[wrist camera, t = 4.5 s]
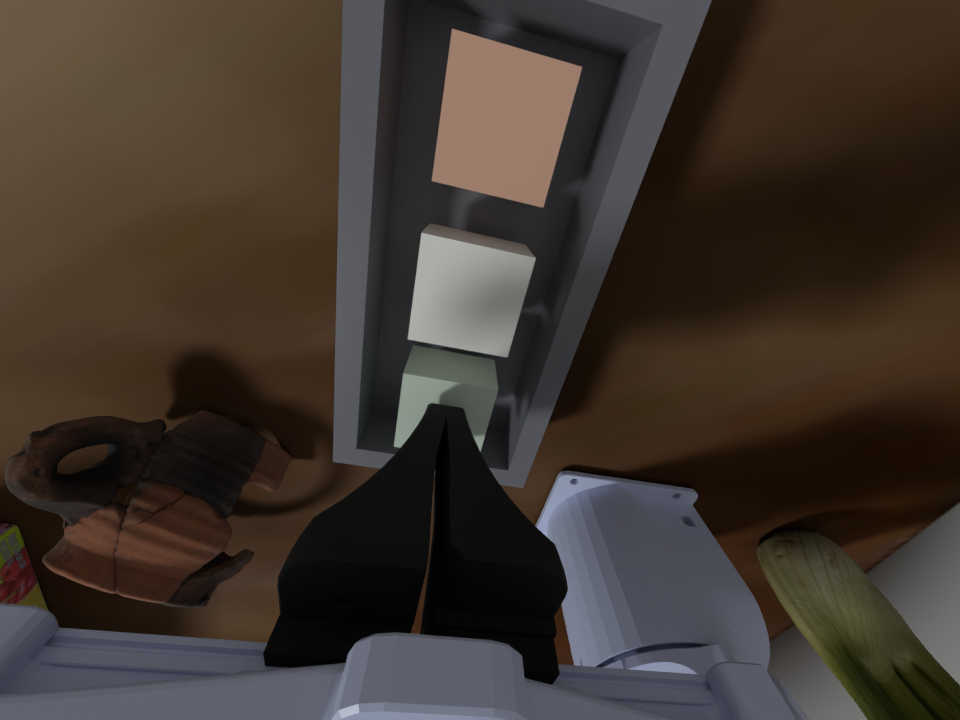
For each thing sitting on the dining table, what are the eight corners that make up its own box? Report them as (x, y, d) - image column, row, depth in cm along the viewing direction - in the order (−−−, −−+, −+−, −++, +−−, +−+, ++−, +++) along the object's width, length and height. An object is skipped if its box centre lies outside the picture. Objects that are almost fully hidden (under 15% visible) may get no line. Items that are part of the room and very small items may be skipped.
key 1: (494, 360, 15) (498, 389, 13) (477, 423, 17) (478, 458, 15) (413, 344, 15) (403, 373, 13) (403, 411, 16) (393, 446, 14)
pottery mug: (338, 475, 22) (253, 630, 18) (260, 461, 27) (176, 580, 22) (145, 356, 15) (-100, 573, 10) (83, 365, 19) (-101, 515, 15)
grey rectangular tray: (645, 39, 12) (718, -17, 9) (513, 433, 20) (522, 488, 17) (386, -41, 11) (346, -144, 7) (358, 409, 19) (332, 462, 16)
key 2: (561, 87, 11) (582, 66, 9) (531, 202, 13) (543, 207, 11) (455, 56, 11) (451, 28, 9) (438, 180, 13) (431, 181, 11)
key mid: (525, 244, 13) (535, 258, 11) (502, 331, 15) (507, 357, 12) (429, 223, 12) (421, 232, 10) (417, 314, 14) (407, 339, 12)
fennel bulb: (730, 550, 26) (906, 803, 16) (780, 509, 24) (1022, 771, 14) (786, 566, 27) (985, 813, 17) (838, 529, 25) (1102, 784, 15)
